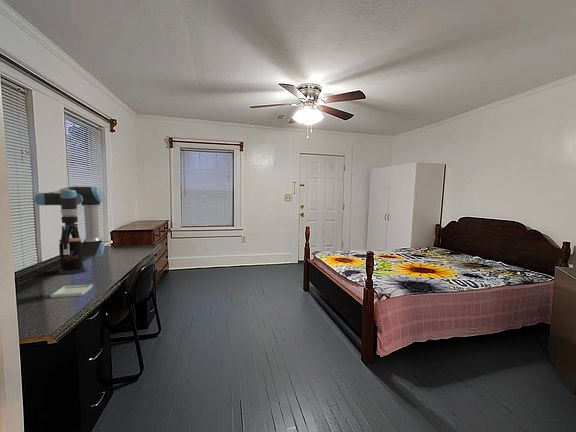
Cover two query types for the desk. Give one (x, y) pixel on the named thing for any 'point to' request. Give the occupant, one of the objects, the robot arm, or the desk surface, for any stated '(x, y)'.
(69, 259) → the coffee jar
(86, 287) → the sage tray
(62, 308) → the desk surface
